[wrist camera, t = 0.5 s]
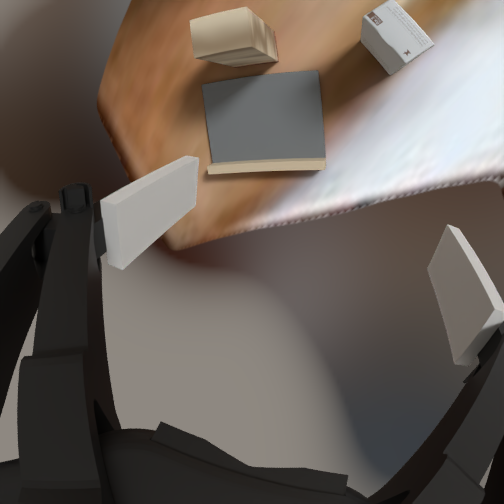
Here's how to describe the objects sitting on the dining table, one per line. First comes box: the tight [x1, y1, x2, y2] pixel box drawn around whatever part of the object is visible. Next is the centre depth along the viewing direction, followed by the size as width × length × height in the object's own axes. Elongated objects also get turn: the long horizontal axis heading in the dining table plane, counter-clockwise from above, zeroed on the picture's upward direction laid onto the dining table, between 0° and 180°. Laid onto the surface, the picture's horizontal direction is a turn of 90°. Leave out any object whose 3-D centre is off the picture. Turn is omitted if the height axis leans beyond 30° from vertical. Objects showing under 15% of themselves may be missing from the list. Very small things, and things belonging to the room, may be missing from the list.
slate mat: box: [202, 70, 326, 174], centre depth 37 cm, size 13×16×3 cm
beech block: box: [190, 7, 278, 67], centre depth 28 cm, size 4×6×12 cm
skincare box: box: [360, 0, 434, 75], centre depth 23 cm, size 6×4×12 cm
